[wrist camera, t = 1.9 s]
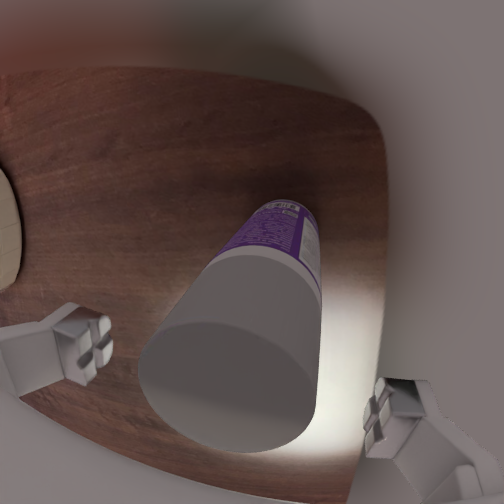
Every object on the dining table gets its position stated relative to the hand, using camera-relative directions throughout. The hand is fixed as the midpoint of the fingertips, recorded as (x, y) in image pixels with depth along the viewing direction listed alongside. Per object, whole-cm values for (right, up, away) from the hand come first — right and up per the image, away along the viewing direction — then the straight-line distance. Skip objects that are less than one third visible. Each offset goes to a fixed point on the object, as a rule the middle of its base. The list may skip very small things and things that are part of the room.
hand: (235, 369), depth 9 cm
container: (+3, +4, +13) cm, 14 cm away
